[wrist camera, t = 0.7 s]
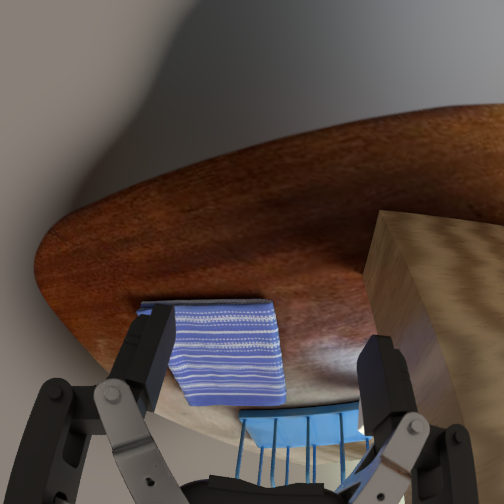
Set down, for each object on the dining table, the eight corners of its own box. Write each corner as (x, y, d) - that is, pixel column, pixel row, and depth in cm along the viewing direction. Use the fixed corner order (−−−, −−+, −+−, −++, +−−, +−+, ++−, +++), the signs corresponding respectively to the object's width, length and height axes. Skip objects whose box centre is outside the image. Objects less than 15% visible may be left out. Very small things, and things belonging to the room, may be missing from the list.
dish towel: (189, 394, 51) (186, 408, 49) (137, 298, 38) (129, 314, 35) (288, 396, 48) (287, 411, 46) (274, 293, 35) (273, 311, 33)
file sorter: (377, 396, 48) (387, 476, 35) (370, 431, 57) (375, 493, 45) (238, 409, 53) (229, 485, 40) (259, 441, 62) (253, 501, 50)
